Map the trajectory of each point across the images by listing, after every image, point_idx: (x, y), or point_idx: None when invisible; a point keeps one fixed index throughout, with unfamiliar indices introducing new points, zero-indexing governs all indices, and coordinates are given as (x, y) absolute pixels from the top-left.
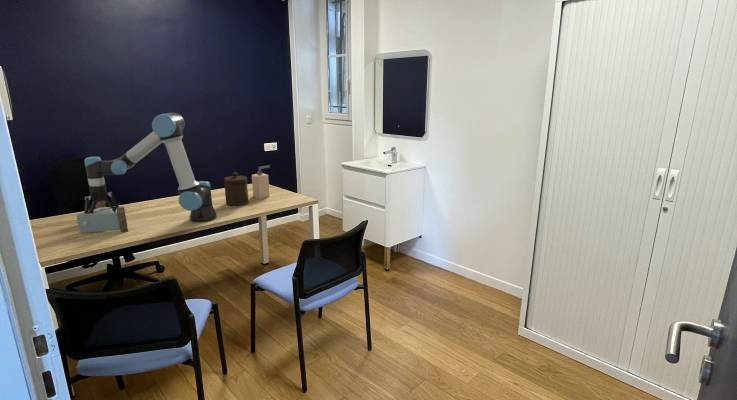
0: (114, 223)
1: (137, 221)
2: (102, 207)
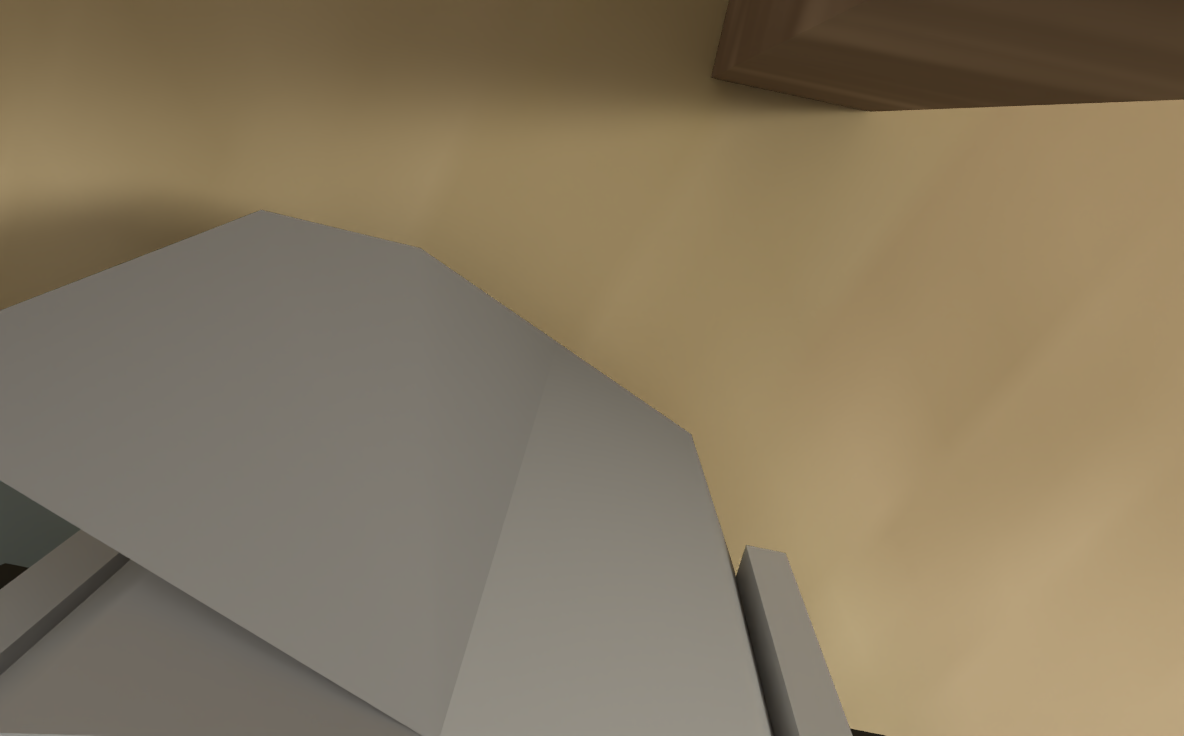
0: None
1: (1143, 725)
2: (1064, 27)
